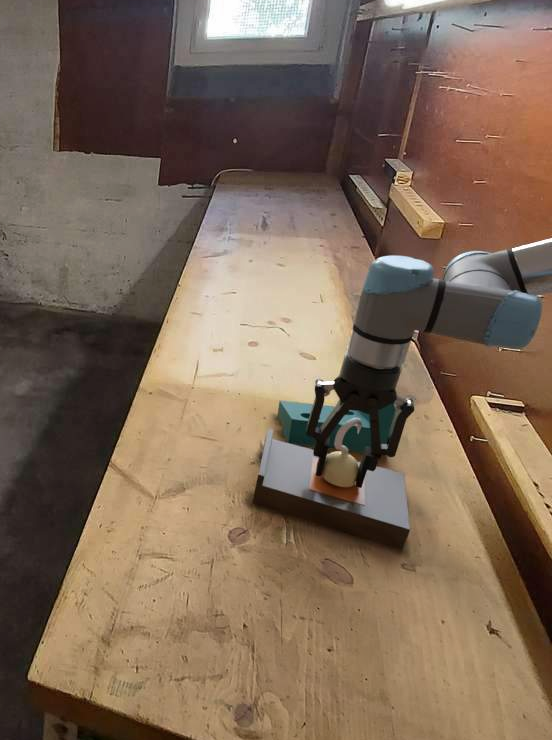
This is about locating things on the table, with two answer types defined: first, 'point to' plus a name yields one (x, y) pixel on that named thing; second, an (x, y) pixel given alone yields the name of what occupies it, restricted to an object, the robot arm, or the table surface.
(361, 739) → the table surface
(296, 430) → the teal l-shaped bracket
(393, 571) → the table surface
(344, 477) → the hook
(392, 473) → the shelf
